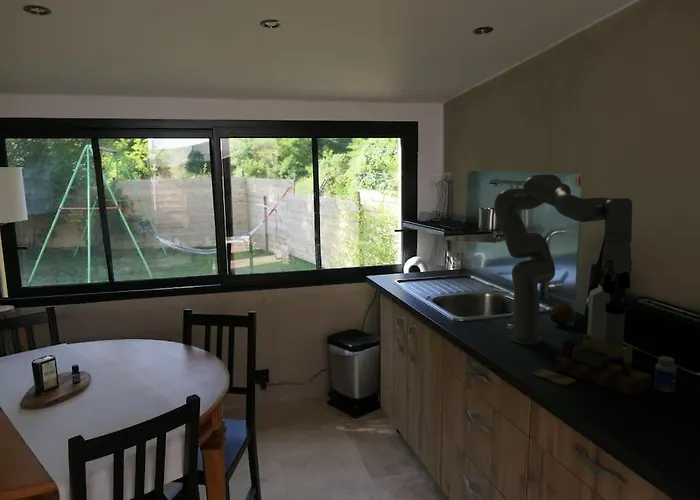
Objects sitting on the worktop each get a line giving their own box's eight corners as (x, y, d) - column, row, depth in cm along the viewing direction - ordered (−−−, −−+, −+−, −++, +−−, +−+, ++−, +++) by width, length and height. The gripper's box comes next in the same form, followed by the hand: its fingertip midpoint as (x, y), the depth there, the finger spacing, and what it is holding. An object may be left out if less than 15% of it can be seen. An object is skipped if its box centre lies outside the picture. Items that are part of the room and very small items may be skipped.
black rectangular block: (571, 361, 161) (571, 348, 160) (578, 357, 163) (579, 344, 163) (601, 370, 153) (602, 356, 152) (608, 366, 155) (609, 353, 155)
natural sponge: (579, 327, 205) (580, 304, 203) (563, 330, 202) (564, 307, 200) (562, 321, 213) (563, 299, 212) (546, 324, 210) (547, 302, 208)
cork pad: (531, 374, 161) (531, 372, 161) (542, 369, 164) (542, 368, 164) (565, 387, 151) (565, 385, 151) (576, 381, 155) (576, 380, 154)
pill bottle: (675, 394, 144) (677, 363, 143) (653, 390, 147) (656, 360, 146) (674, 387, 149) (677, 357, 147) (653, 383, 152) (656, 353, 150)
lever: (632, 373, 150) (634, 346, 148) (628, 375, 148) (630, 348, 147) (583, 358, 162) (585, 333, 161) (580, 360, 161) (581, 335, 159)
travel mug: (625, 360, 169) (629, 305, 166) (605, 360, 171) (608, 304, 168) (619, 354, 176) (623, 300, 172) (600, 353, 177) (603, 299, 174)
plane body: (553, 369, 165) (554, 343, 163) (570, 361, 170) (571, 337, 169) (634, 396, 144) (636, 367, 142) (650, 387, 149) (652, 359, 148)
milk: (590, 342, 188) (593, 287, 184) (587, 337, 193) (589, 283, 190) (607, 343, 186) (610, 287, 182) (603, 338, 192) (606, 283, 188)
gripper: (619, 234, 162) (618, 284, 164) (591, 239, 152) (591, 293, 154) (643, 235, 156) (642, 287, 158) (616, 241, 146) (615, 296, 148)
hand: (616, 290), depth 156 cm, fingers open, 9 cm apart
